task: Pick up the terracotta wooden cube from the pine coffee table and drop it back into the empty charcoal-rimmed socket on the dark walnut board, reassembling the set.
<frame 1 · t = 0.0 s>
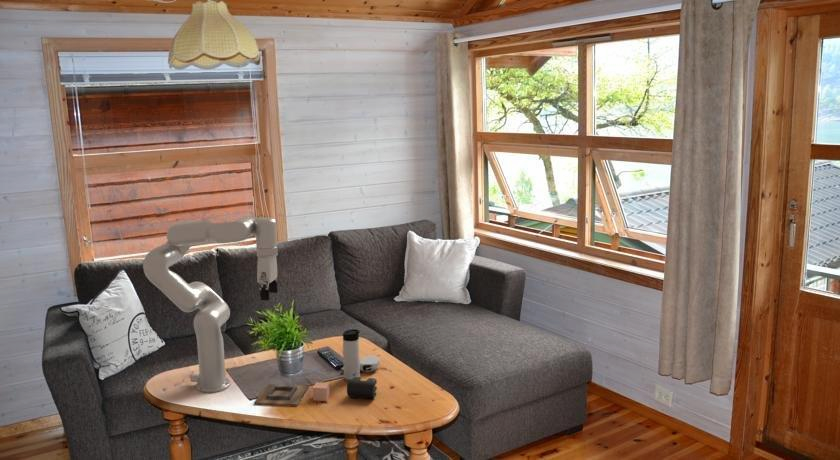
hand: (269, 296, 256), 37 cm above the table, tool pointing down, fingers open, 9 cm apart
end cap: (362, 397, 256), on the table
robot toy: (361, 369, 282), on the table
terracotta cube: (321, 397, 255), on the table
holder board: (282, 395, 257), on the table
travel mug: (352, 379, 272), on the table
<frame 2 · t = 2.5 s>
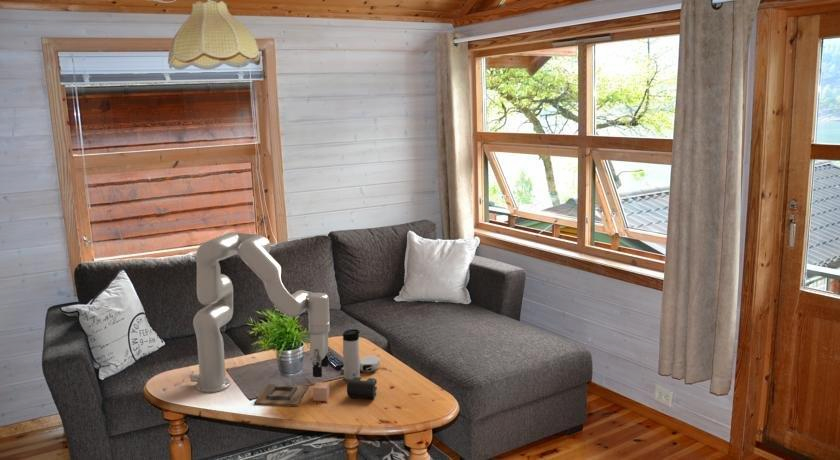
hand: (320, 371, 253), 10 cm above the table, tool pointing down, fingers open, 9 cm apart
nothing on the table moved.
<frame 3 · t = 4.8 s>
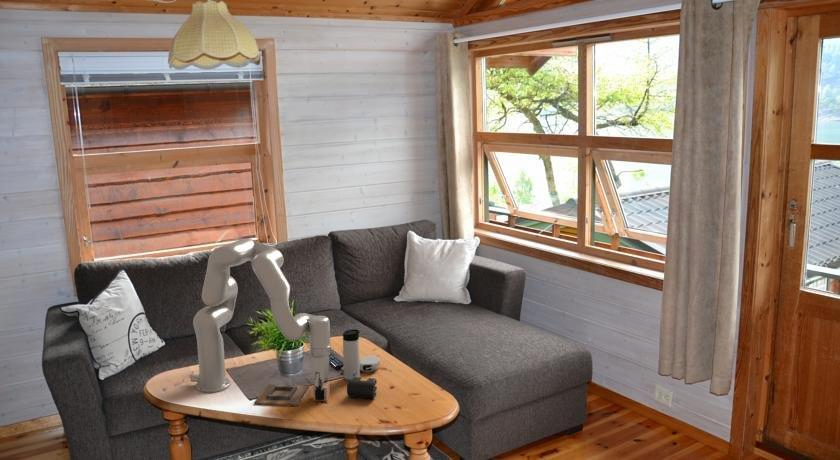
hand: (321, 395, 255), 1 cm above the table, tool pointing down, fingers closed on terracotta cube, 5 cm apart
terracotta cube: (321, 397, 255), on the table, touching gripper
everything else where it was.
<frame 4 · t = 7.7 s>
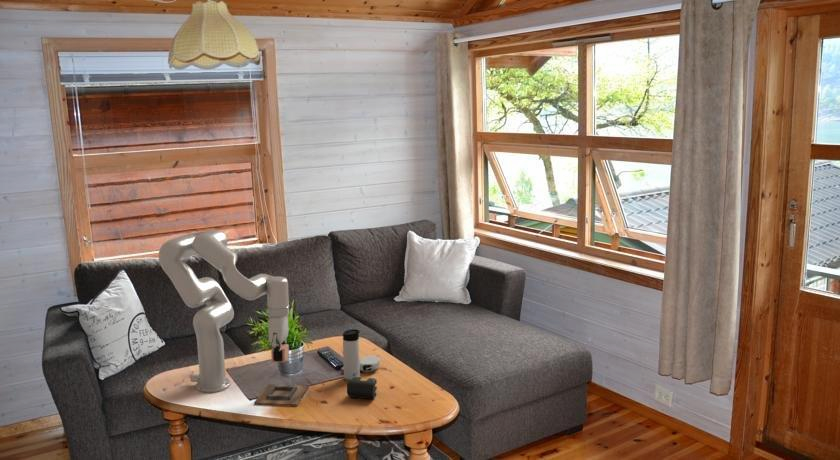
hand: (280, 357, 254), 15 cm above the table, tool pointing down, fingers closed on terracotta cube, 4 cm apart
terracotta cube: (280, 359, 254), point 14 cm above the table, touching gripper
everything else where it was.
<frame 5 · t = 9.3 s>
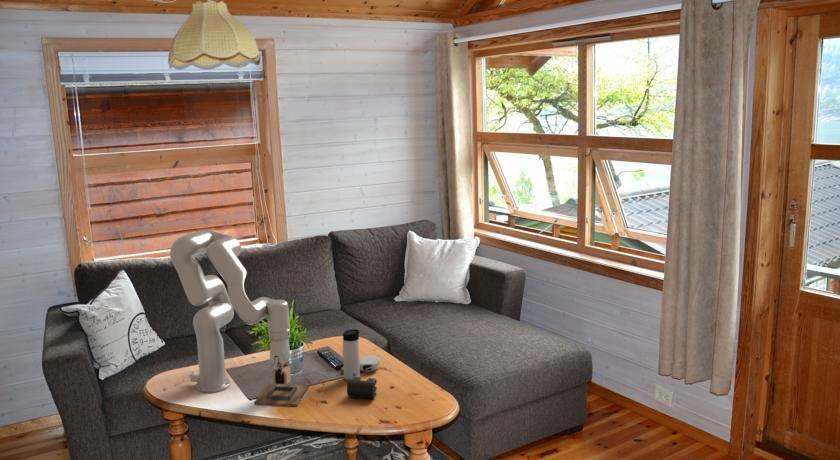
hand: (282, 380, 255), 6 cm above the table, tool pointing down, fingers closed on terracotta cube, 4 cm apart
terracotta cube: (282, 381, 255), point 6 cm above the table, touching gripper
everything else where it was.
when the fingers open (3 cm above the table, at t = 10.8 s): terracotta cube drops 1 cm, resting on holder board.
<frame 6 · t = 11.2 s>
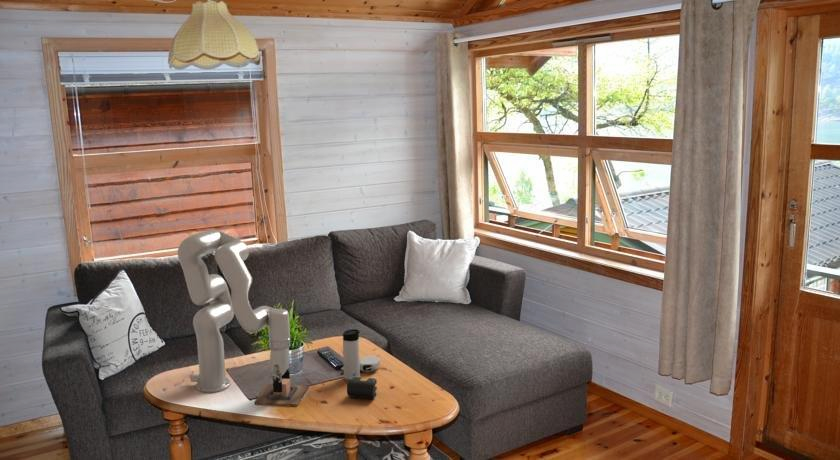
hand: (281, 386, 256), 4 cm above the table, tool pointing down, fingers open, 9 cm apart
terracotta cube: (281, 393, 256), point 1 cm above the table, touching holder board
everything else where it was.
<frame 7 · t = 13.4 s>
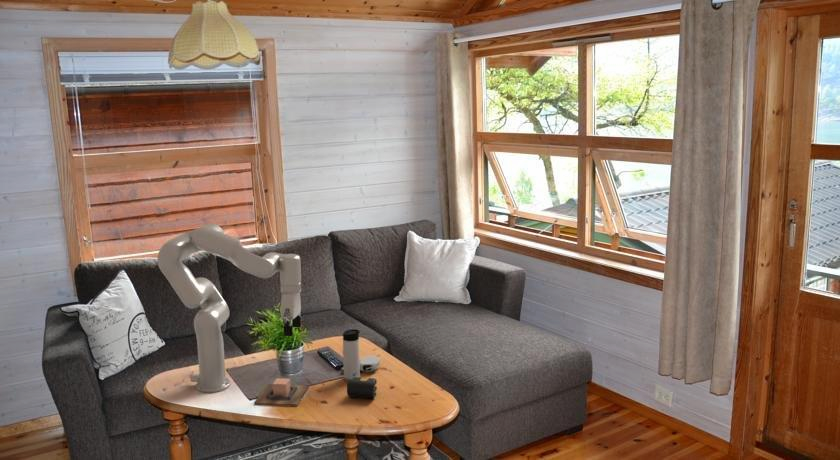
hand: (292, 331, 259), 23 cm above the table, tool pointing down, fingers open, 9 cm apart
nothing on the table moved.
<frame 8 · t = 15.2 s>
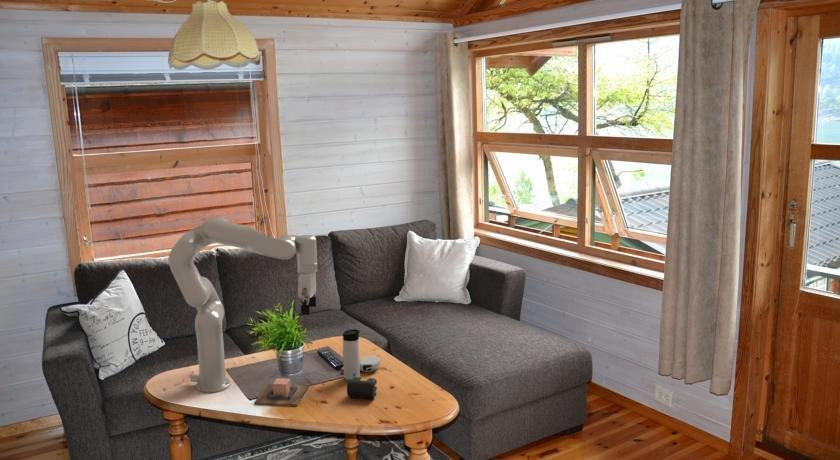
hand: (308, 310, 266), 28 cm above the table, tool pointing down, fingers open, 9 cm apart
nothing on the table moved.
at the end: terracotta cube 0.0 cm off-centre on the holder board, point 0.8 cm above the holder board's base; terracotta cube tilted 0°; the gripper is holding nothing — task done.
